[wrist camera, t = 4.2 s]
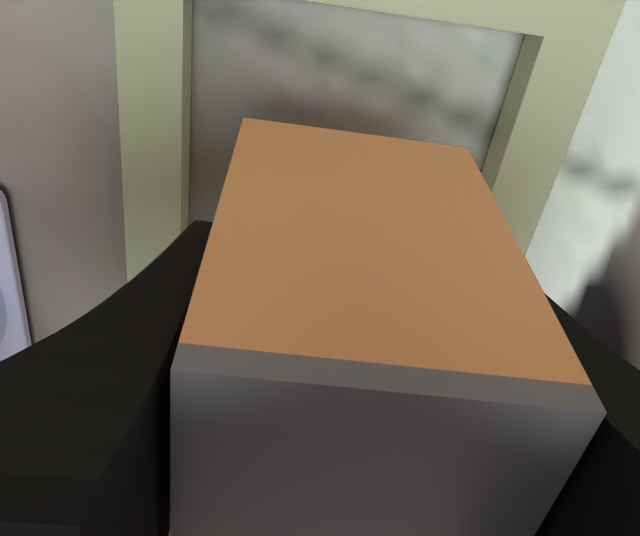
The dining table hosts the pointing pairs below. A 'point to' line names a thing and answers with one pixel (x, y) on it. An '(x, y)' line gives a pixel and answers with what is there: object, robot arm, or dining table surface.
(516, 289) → the plug
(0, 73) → the dining table surface
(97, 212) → the dining table surface
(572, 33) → the tray
